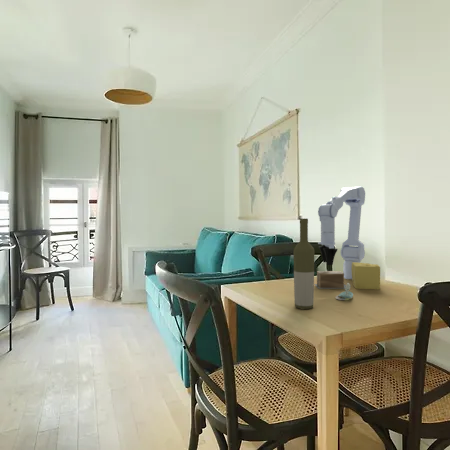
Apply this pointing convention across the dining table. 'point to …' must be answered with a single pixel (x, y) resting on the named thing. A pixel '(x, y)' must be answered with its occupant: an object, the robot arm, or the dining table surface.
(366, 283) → the cheese
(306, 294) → the bottle
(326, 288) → the mat
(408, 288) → the dining table surface
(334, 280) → the walnut cover
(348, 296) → the pacifier
